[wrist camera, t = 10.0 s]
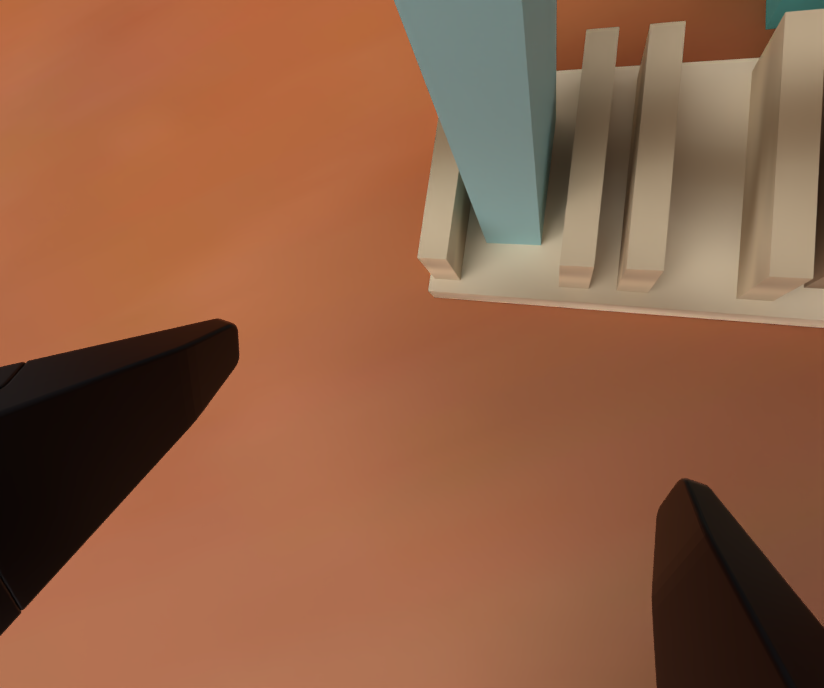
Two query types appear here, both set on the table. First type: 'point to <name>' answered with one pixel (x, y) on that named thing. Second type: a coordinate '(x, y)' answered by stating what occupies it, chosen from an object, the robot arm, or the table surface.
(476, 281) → the birch rack
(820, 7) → the alien figure
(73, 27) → the table surface
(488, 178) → the teal panel
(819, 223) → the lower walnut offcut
